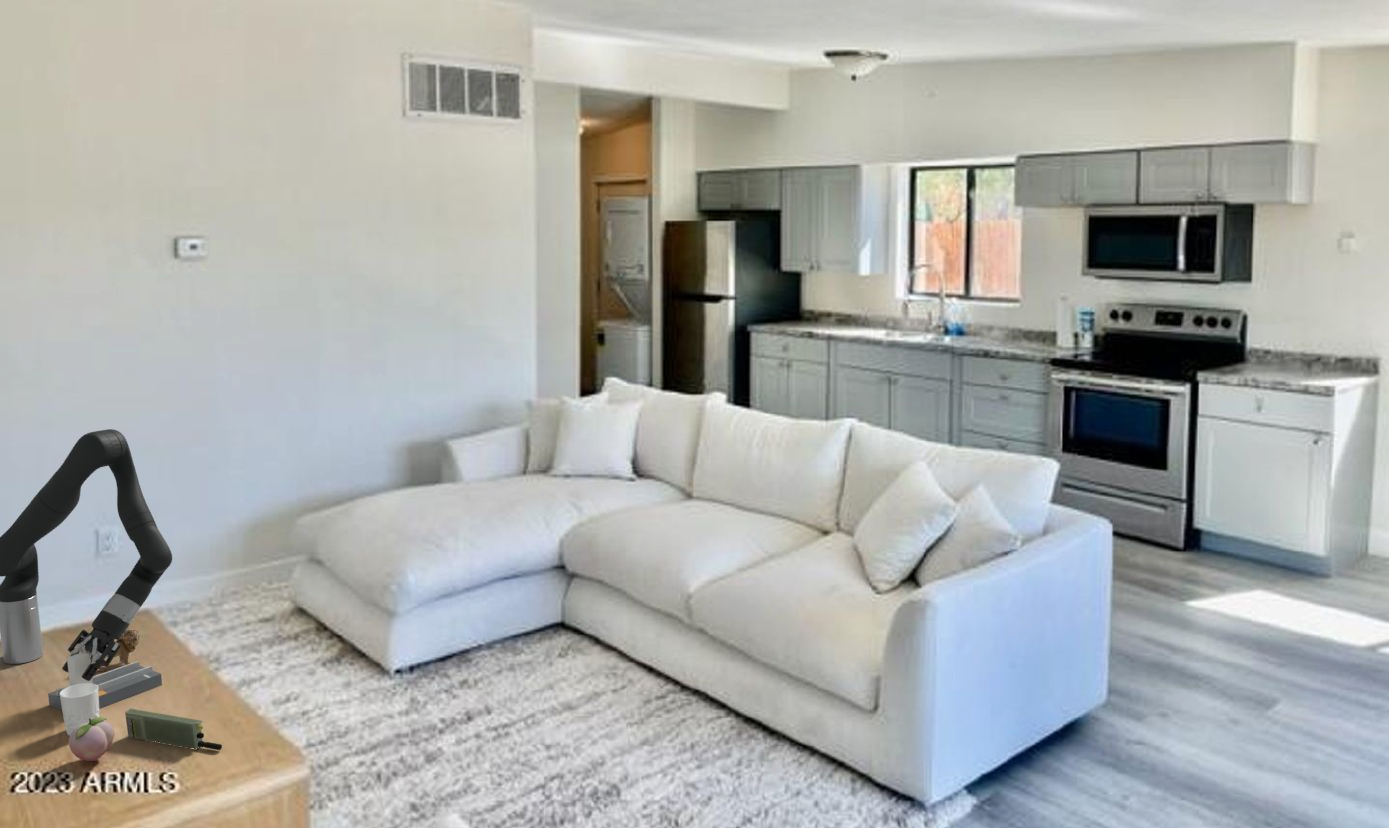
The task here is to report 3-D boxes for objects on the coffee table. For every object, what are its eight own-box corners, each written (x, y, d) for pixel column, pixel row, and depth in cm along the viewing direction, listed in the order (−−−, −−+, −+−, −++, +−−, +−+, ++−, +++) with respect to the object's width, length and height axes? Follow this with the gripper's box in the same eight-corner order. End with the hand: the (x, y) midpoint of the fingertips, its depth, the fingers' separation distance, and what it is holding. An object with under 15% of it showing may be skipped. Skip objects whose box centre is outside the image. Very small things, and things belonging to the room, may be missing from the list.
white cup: (109, 727, 266) (105, 687, 264) (79, 741, 259) (75, 700, 257) (86, 720, 269) (82, 680, 267) (56, 734, 262) (51, 693, 260)
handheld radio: (136, 733, 263) (226, 749, 256) (125, 740, 260) (216, 756, 253) (133, 706, 262) (223, 721, 255) (122, 713, 259) (213, 728, 252)
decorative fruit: (86, 750, 254) (81, 708, 253) (122, 751, 254) (118, 709, 252) (61, 771, 245) (57, 728, 243) (99, 772, 245) (94, 728, 243)
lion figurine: (137, 656, 307) (134, 624, 305) (145, 661, 303) (142, 629, 302) (78, 672, 296) (75, 639, 295) (86, 677, 293) (82, 645, 291)
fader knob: (69, 691, 277) (65, 657, 275) (85, 686, 280) (82, 651, 278) (78, 695, 275) (75, 660, 273) (94, 689, 278) (91, 655, 276)
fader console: (49, 705, 277) (47, 687, 276) (134, 674, 295) (133, 657, 294) (76, 717, 271) (74, 699, 270) (162, 684, 289) (160, 668, 288)
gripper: (89, 603, 284) (47, 662, 276) (121, 615, 276) (79, 675, 269) (111, 617, 289) (70, 675, 282) (144, 629, 282) (103, 688, 274)
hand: (75, 675), depth 275 cm, fingers open, 8 cm apart
